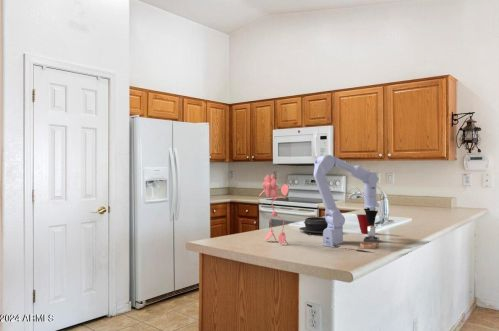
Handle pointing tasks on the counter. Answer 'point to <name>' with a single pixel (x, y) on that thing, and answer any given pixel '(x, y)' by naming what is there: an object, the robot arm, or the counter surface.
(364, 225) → the plastic cup
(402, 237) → the counter surface
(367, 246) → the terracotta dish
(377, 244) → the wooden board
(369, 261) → the counter surface
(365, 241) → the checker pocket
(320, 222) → the casserole
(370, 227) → the steel cell
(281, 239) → the figurine
